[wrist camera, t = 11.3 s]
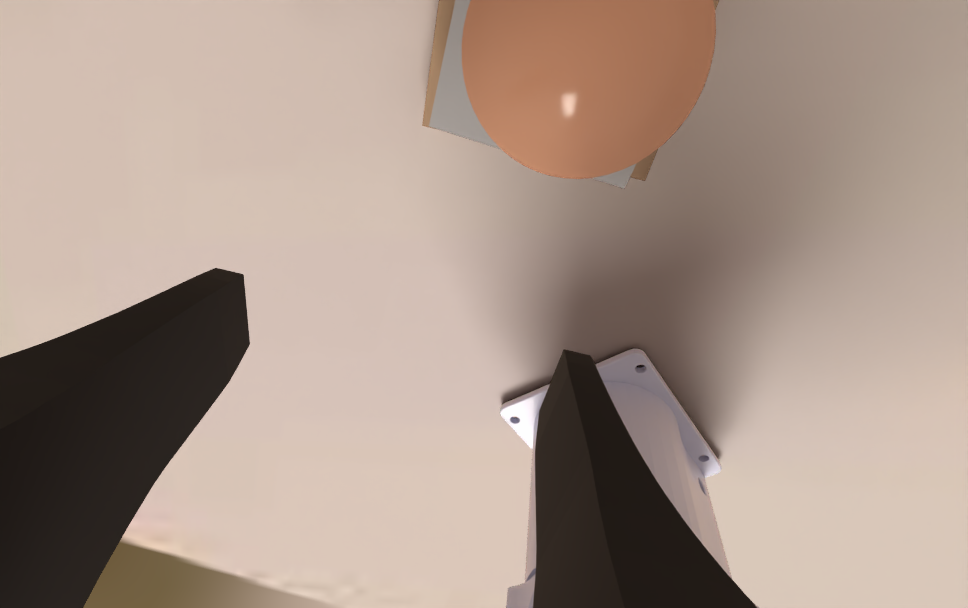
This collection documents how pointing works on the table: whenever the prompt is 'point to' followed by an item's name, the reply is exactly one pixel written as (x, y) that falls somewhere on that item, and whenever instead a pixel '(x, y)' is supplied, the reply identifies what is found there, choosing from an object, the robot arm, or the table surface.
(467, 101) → the tower block
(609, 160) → the clay cylinder
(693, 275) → the table surface
